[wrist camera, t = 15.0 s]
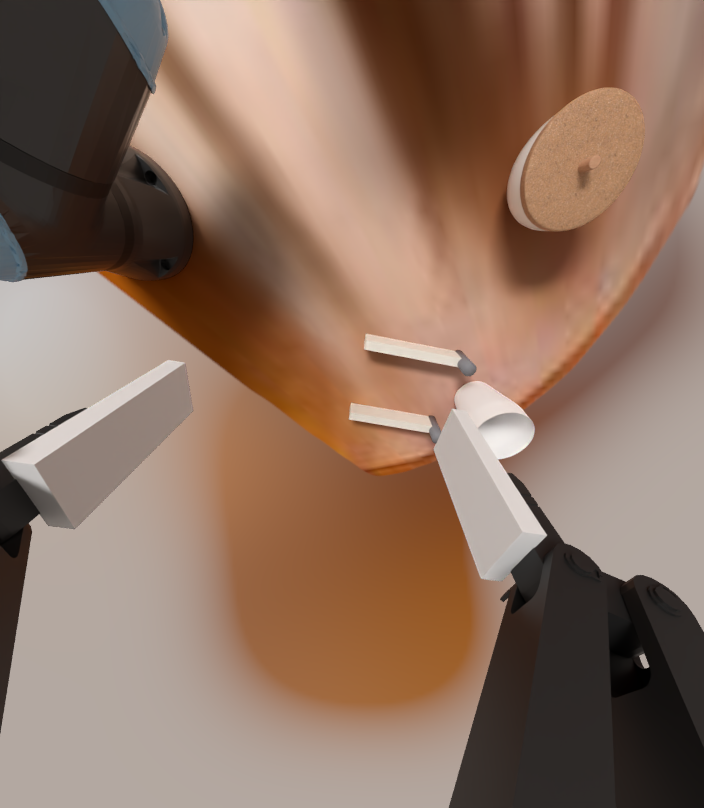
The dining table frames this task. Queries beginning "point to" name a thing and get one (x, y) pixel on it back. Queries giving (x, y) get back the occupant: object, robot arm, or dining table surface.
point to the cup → (496, 418)
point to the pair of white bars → (414, 352)
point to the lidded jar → (577, 162)
